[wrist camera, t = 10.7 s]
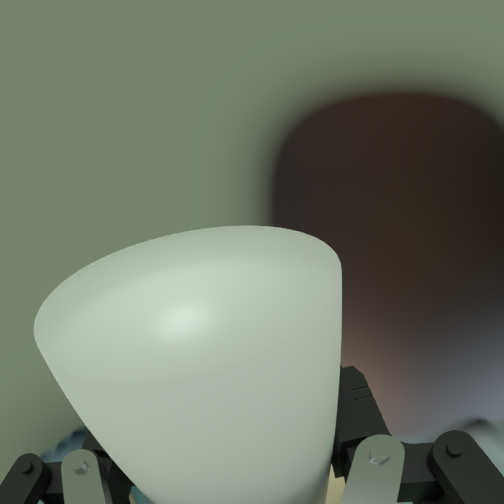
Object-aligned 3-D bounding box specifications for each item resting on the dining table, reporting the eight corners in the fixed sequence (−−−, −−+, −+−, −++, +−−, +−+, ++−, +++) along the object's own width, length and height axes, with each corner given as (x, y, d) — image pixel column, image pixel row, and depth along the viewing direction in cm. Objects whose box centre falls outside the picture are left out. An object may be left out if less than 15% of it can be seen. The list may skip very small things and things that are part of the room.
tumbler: (288, 454, 14) (260, 213, 9) (345, 534, 8) (419, 286, 4) (183, 489, 12) (65, 262, 8) (220, 582, 7) (-6, 416, 2)
